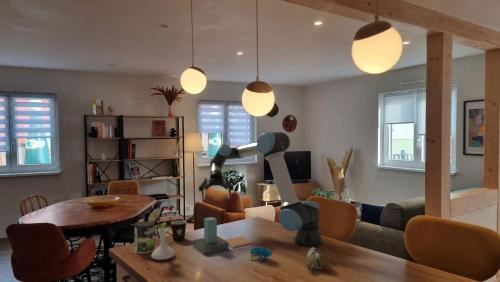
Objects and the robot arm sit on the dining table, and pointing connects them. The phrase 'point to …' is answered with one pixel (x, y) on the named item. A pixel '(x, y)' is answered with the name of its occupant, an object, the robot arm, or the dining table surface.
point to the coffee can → (144, 237)
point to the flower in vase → (163, 249)
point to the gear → (260, 252)
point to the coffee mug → (178, 230)
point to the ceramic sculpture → (316, 260)
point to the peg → (210, 230)
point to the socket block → (210, 246)
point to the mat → (238, 242)
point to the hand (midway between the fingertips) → (216, 197)
